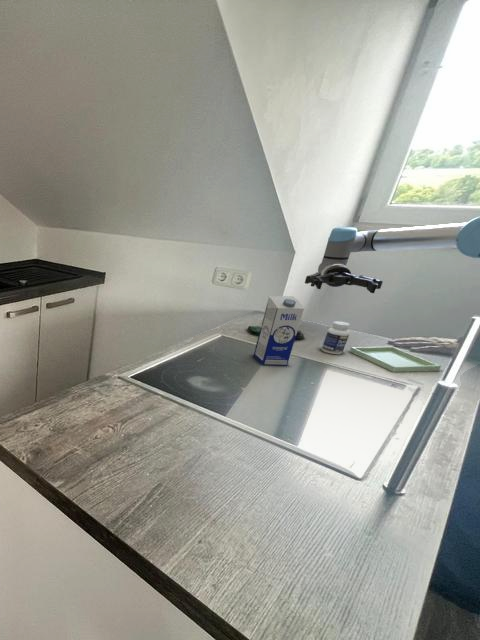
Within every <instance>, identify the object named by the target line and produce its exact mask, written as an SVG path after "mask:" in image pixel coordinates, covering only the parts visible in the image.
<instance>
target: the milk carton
mask: <svg viewBox="0 0 480 640" xmlns="http://www.w3.org/2000/svg"><path fill="white" fill-rule="evenodd" d="M304 310H305V307H304V305H303V304H302V303H301V302H300V301H299V300H298V298H296V297H295V296H293V295H290V296H285V295H269V296H268V299H267V302H266V306H265V310H264V314H263V317H262V321H261V325H260V327H261V329H260V333H259V336H258V335H257V336H258V337H257V340H256V345H255V349H254V351H253V358H255V360H257V361H258V362H259V363H260V364H261V365H262V366H288V363H289V360H290V357H291V354H292V351H293V348H294V344H295V341H296V340H295V337H296V334H297V331H299V327H300V324H301V321H302V318H303V314H304Z"/></svg>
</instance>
